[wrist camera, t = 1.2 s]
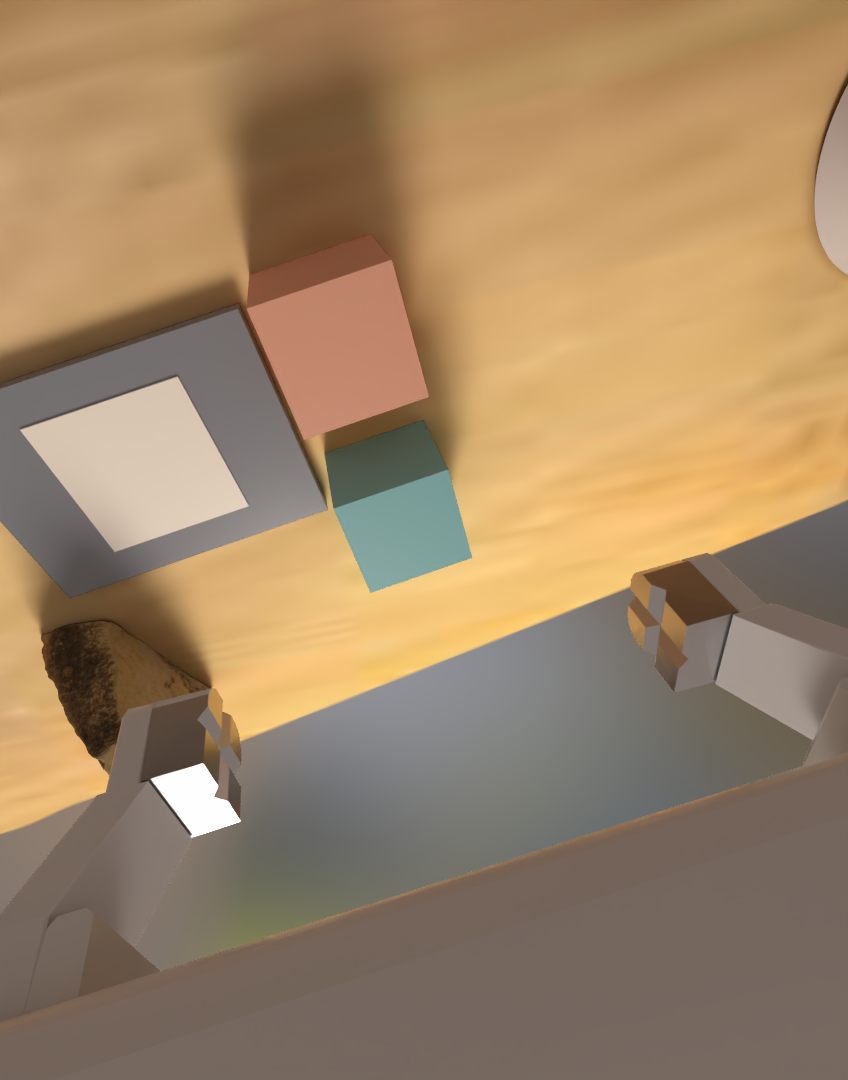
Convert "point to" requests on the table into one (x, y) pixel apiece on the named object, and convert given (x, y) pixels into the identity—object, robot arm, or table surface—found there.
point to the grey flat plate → (149, 453)
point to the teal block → (397, 506)
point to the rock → (107, 680)
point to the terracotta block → (337, 335)
